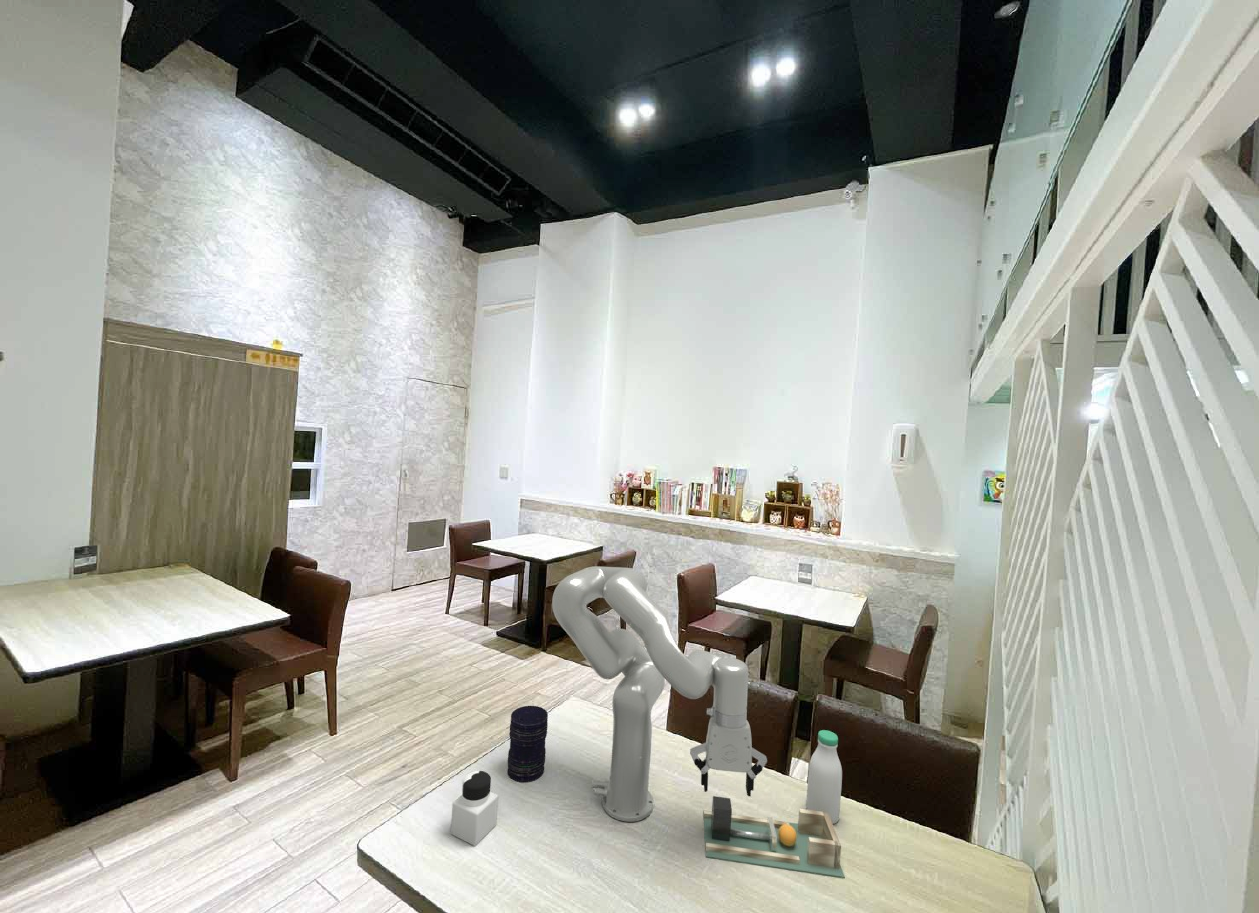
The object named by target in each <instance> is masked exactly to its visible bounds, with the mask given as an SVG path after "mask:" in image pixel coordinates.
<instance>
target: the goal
mask: <svg viewBox="0 0 1259 913" xmlns="http://www.w3.org/2000/svg"><path fill="white" fill-rule="evenodd" d="M798 810H799V811H798V822H797V824H798V832H799V833H800V834H807V835H814V836H821V837H823V839H818V838H811V837H809V839H808V852H807V862H808V864H811V865H817V866H824V867H831V868H838V869H839V868H840V866H841V854H842V853H841V852H842V851H841V850H842V844H841V842H840V840H839V837H838V835H837V832H836V830H835V827H834V824H832V822H831V819H830V817H829V814H828V813H827V812H820V811H813V810H806V808H805V809H803V808H799V809H798Z"/></svg>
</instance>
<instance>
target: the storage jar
mask: <svg viewBox="0 0 1259 913" xmlns="http://www.w3.org/2000/svg"><path fill="white" fill-rule="evenodd" d="M548 718H549V713H548V711H547V710H546V709H545V708H543V707H541V706H537V705H523V706H520V707H517V708H516V709H514V710H512V712H511V714H510V723H509V734H508V735H509V749H508V754H507V776H508V778H509V779H510V780H512V781H513V782H517V783H521V784H524V783H525V784H526V783H533V782H535V781H537V780H539V779H540V778H541V777H542V776H543V775H544V773H545V764H546V757H547V756H546V754H547V752H546V738H547V735H548V727H549V726H548V724H549V723H548Z"/></svg>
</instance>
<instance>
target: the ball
mask: <svg viewBox="0 0 1259 913" xmlns="http://www.w3.org/2000/svg"><path fill="white" fill-rule="evenodd" d="M778 835H779V839H780V841H781V842H782V843H783V844H784V845H786V846H792V845H794V844H795V843H796V840H797V834H796V831H795V829H794V828H793V827H792V826H790V825H788V824H784V825H782V826H781V827H780V828H779V831H778Z"/></svg>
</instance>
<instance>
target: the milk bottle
mask: <svg viewBox="0 0 1259 913" xmlns="http://www.w3.org/2000/svg"><path fill="white" fill-rule="evenodd" d="M838 743H839V738H838V735H837V733H834V732H832V731H831V730H825V729H822V730H819V731H818V733H817V747H816V748H815V751H814V752H813V754H812V755H811V757H810V761H809V766H808V776H807V788H806V789H807V790H806V800H805V802H806V803H805V810H813V811H820V812H827V813H828V814H829V817H830V819H831V822H832V824H833V825H834V824H837V823H838V821H839V819H840V812H841V811H840V809H841V796H842V787H843V786H842V785H843V784H842V782H843V781H842V780H843V769H842V765H841V764H842V763H841V761H840V759H839V756H838V752H837V748H838Z"/></svg>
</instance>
